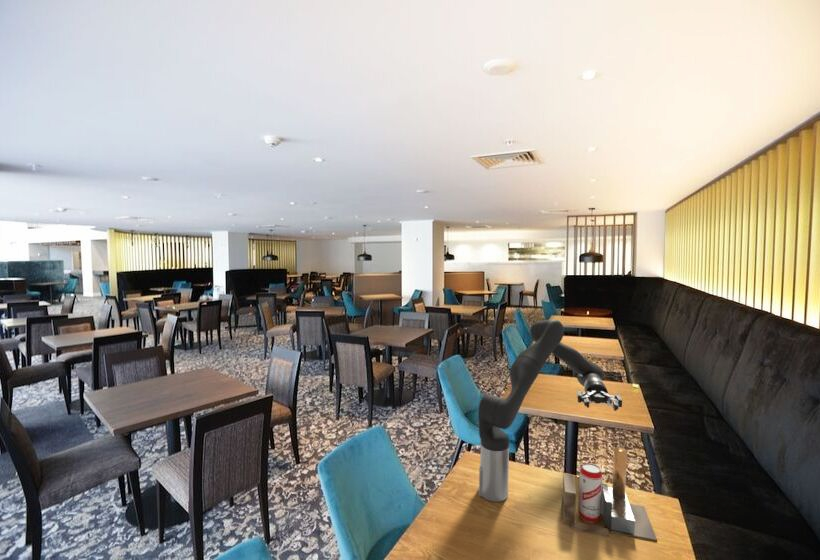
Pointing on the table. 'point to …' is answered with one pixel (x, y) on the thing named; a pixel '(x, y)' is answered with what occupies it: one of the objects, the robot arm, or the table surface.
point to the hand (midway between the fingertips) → (601, 406)
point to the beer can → (590, 493)
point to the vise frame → (641, 527)
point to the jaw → (617, 497)
